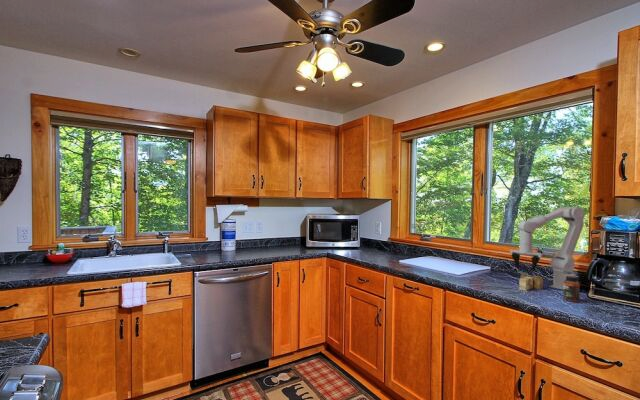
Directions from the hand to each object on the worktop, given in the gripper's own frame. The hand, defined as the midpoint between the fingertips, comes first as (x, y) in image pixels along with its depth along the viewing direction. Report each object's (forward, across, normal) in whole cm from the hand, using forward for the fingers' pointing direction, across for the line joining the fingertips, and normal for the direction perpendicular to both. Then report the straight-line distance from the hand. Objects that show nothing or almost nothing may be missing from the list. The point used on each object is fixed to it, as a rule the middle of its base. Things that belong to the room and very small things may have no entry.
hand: (525, 268), depth 166 cm
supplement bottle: (+10, +22, -7) cm, 25 cm away
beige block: (+10, +2, -3) cm, 10 cm away
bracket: (+10, +2, +3) cm, 10 cm away
